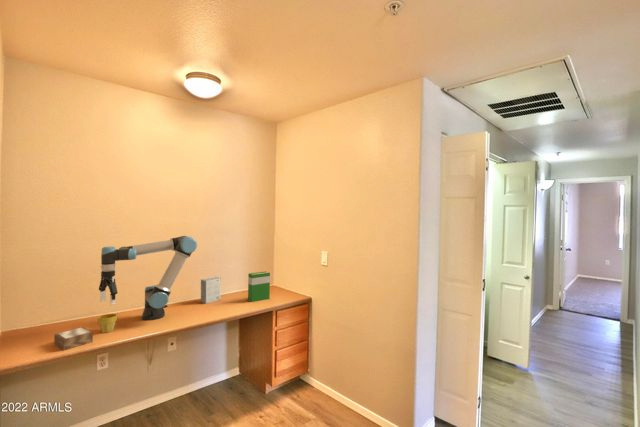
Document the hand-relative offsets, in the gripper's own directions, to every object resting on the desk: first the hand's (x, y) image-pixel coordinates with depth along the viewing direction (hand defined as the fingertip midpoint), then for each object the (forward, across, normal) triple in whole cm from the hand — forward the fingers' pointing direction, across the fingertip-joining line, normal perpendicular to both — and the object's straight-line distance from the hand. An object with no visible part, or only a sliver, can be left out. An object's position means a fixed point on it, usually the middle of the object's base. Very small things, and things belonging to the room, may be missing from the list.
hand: (107, 302), depth 203 cm
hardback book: (+18, +28, +111) cm, 116 cm away
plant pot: (+18, 0, 0) cm, 19 cm away
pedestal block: (+18, +5, -20) cm, 27 cm away
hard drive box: (+19, -3, +83) cm, 85 cm away
